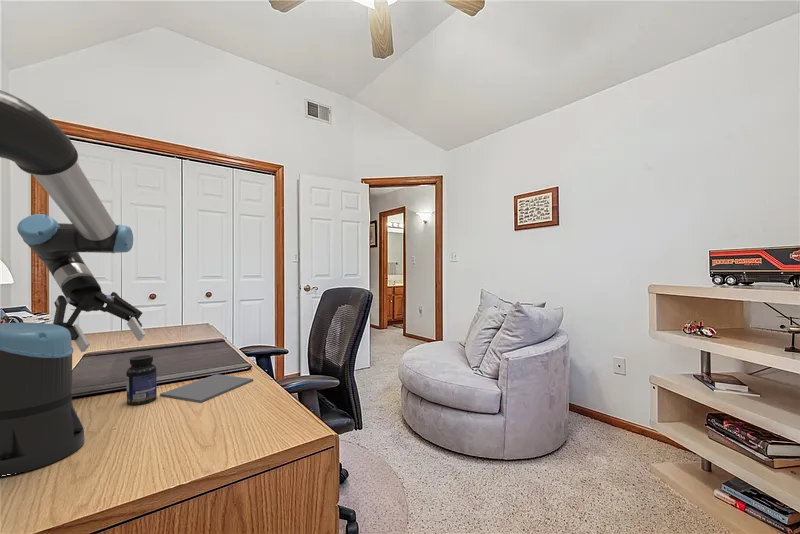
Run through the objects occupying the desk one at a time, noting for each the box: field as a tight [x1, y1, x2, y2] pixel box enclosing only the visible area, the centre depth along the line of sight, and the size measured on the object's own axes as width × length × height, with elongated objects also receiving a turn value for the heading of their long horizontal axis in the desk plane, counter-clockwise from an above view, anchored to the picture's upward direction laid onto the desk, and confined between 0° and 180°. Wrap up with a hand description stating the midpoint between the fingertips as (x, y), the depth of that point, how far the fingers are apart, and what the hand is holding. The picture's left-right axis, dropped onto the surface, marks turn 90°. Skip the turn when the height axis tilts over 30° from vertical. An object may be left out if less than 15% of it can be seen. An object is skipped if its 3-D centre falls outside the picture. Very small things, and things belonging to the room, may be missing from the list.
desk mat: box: [159, 373, 254, 404], centre depth 100 cm, size 18×14×1 cm
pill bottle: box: [125, 354, 158, 406], centre depth 90 cm, size 6×6×11 cm
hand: (116, 342), depth 94 cm, fingers open, 13 cm apart
